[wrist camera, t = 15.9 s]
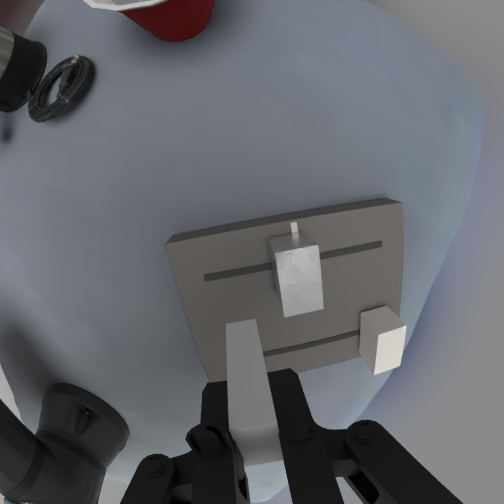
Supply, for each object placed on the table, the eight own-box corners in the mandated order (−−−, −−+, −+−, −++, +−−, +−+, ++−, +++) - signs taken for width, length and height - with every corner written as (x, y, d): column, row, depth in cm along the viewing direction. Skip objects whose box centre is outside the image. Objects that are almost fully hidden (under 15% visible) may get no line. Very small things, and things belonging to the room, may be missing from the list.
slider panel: (212, 369, 30) (211, 387, 27) (172, 235, 25) (165, 244, 22) (384, 330, 30) (396, 344, 27) (385, 198, 25) (402, 202, 22)
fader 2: (359, 351, 26) (373, 375, 23) (360, 312, 25) (378, 334, 21) (383, 344, 26) (400, 365, 23) (386, 305, 25) (406, 325, 21)
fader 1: (276, 293, 24) (284, 317, 20) (267, 237, 22) (274, 253, 18) (309, 286, 24) (323, 308, 20) (303, 231, 22) (318, 244, 18)
